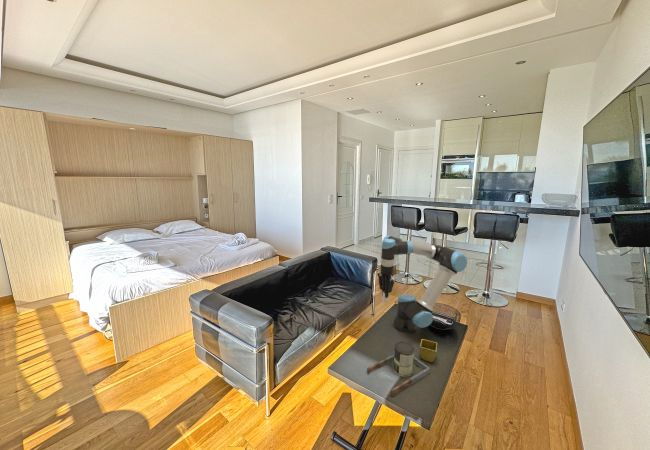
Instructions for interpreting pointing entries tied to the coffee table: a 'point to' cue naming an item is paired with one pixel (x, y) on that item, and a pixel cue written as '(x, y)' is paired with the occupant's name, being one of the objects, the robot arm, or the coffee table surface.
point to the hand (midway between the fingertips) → (384, 301)
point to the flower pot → (428, 350)
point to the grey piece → (425, 368)
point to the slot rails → (396, 389)
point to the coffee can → (403, 358)
